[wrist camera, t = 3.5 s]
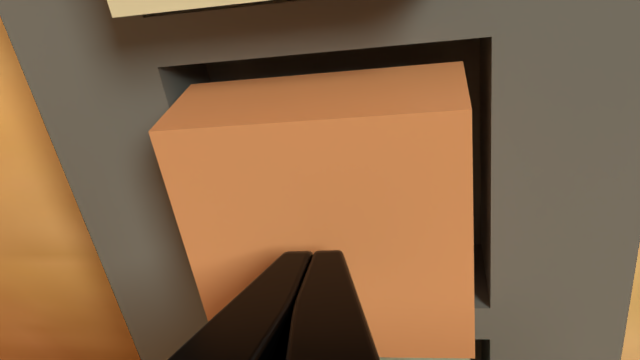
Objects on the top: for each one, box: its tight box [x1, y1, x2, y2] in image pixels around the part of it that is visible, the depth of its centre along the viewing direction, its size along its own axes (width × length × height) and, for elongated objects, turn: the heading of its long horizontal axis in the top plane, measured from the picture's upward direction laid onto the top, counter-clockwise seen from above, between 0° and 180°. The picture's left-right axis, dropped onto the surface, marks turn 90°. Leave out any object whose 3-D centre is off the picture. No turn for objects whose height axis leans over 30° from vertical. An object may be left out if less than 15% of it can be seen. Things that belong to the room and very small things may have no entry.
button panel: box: [0, 0, 640, 360], centre depth 11 cm, size 18×10×3 cm, turn 8°
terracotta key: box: [148, 61, 475, 359], centre depth 10 cm, size 4×4×2 cm
